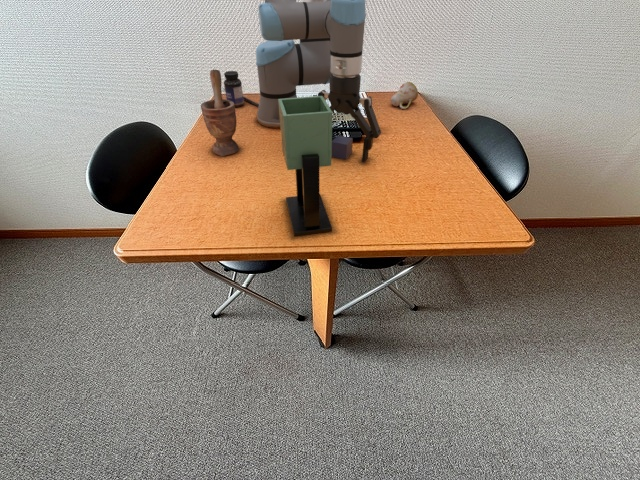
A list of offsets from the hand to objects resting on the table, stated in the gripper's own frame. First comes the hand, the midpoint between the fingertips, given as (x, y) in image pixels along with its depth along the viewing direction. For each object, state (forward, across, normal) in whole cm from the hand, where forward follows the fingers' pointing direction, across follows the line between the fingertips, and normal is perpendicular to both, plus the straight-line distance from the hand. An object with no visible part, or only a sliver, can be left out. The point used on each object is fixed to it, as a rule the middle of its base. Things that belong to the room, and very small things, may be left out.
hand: (341, 155), depth 96 cm
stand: (0, +4, -29) cm, 29 cm away
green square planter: (-14, +4, -29) cm, 32 cm away
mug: (0, +5, +46) cm, 46 cm away
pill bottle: (0, -51, +20) cm, 54 cm away
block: (0, 0, 0) cm, 0 cm away
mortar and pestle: (0, -33, -10) cm, 34 cm away
